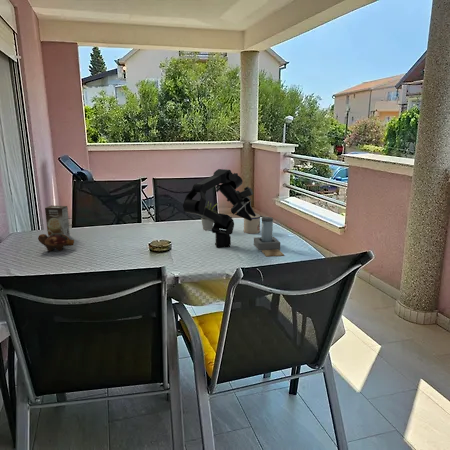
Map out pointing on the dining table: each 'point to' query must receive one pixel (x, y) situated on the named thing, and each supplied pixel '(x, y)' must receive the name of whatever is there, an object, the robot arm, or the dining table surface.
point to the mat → (272, 252)
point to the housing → (266, 244)
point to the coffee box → (57, 220)
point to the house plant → (206, 223)
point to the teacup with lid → (252, 225)
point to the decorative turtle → (55, 241)
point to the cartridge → (267, 229)
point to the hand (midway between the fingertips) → (253, 218)
